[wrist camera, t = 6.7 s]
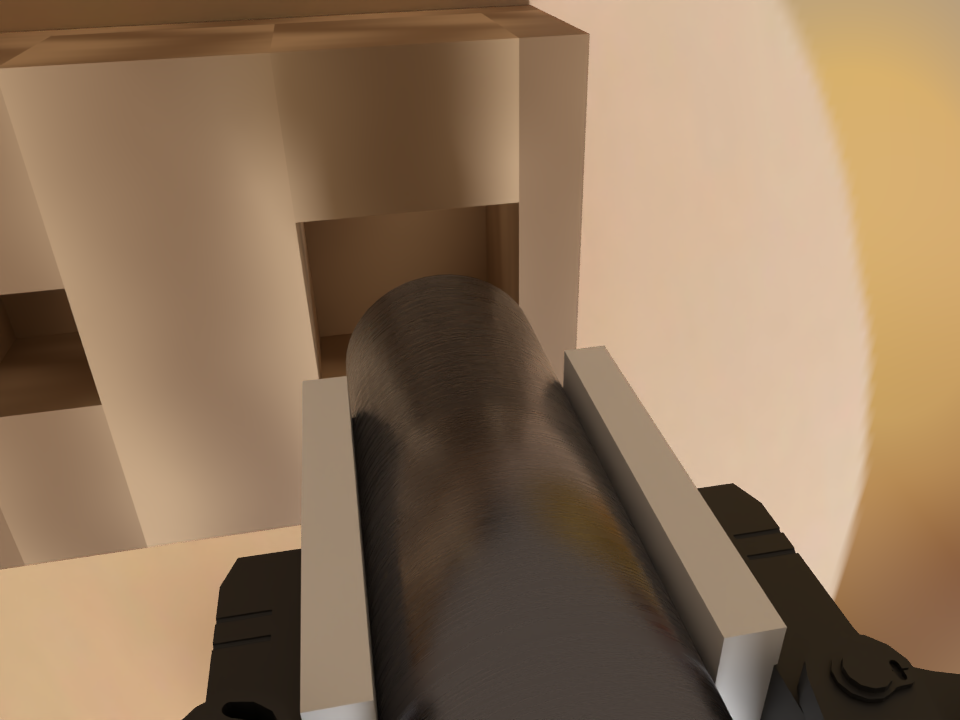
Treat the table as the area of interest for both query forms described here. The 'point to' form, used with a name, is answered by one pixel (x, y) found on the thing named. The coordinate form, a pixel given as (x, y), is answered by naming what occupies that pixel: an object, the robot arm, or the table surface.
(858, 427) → the table surface
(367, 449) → the steel pin
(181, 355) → the oak block
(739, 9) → the table surface
